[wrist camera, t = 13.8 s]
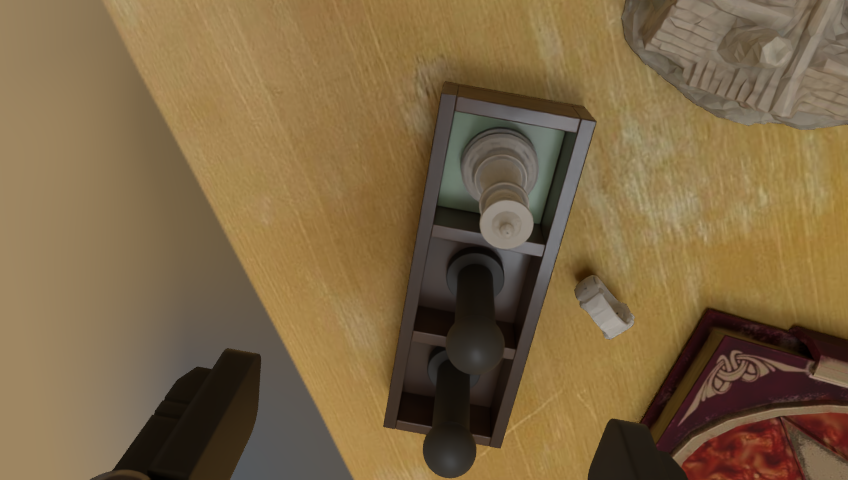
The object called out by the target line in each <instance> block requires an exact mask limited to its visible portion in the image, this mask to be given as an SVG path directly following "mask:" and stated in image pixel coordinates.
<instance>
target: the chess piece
mask: <svg viewBox="0 0 848 480" xmlns="http://www.w3.org/2000/svg"><path fill="white" fill-rule="evenodd" d="M538 173H539V165H538V157H537V153H536V151H535V149H534V146H533V144H532V143H531V142H530V141H529V139H528V138H527V137H526V136H524V135H523V134H522V133H520V132H519V131H517V130H514V129H511V128H507V127H494V128H489V129H486V130H484V131H482V132H480V133H478V134H477V135H476V136H474V137H473V138H472V139H471V140H470V141H469V143H468V144H467V146H466V147H465V149H464V152H463V154H462V158H461V175H462V180H463V184H464V186H465V188H466V190H467V191H468V193H469V194H470V195H471V196H472V197H473V198H474V199H475V200H477V201H478V202H479V210H480V214H481V217H480V223H479V225H480V231H481V233H482V235H483V237H484V239H485V240H486V241H487V242H488V243H489V244H491V245H493V246H494V247H497V248H501V249H511V248H515V247H517V246H520V245H521V244H523V243H524V242H525V241H526V240H527V239H528V238H529V237H530V235H531V233H532V230H533V224H534V222H533V216H532V214H531V211H530V210H529V206H530V205H529V198H528V195H529V193H530V192H531V191H532V190H533V188H534V186H535V184H536V182H537V180H538Z"/></svg>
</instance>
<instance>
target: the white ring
mask: <svg viewBox="0 0 848 480" xmlns="http://www.w3.org/2000/svg"><path fill="white" fill-rule="evenodd" d="M574 291H575V295H576V298H577V300H579V301H580V307H581V308H583V309H584V310H585V311H587V312H588V313H589V314H590V316H591V317H592V319H593V320H594V322H595V323H596V324H597V325H598V326H599V327H600V328H601V330H602V332H603V334H604V337H605V338H606V339H612V338H614V337H616V336H617V335H619V334H620V333H622V332H624V331H625V330H627V329H629V328H630V327H632V326H633V324H634V320H633V319H634V318H635V317H634V315H633V314H632V313H630V310H629V308H628V306H627V305H626V304H625V303H621V302H619V301H617V299H615V297H614V296H613V295H612V294H611V293H610V291H609V290H608V289H607V288H606V286H605V285H604V284H603V282H602V281H601V280H600V279H599V278H598V276H597V275H596V276H595V275H591V276H589V277H587V278H585V279H583V280H582V281H581V282H580V283H578V284H577V285H576V288H575V290H574Z"/></svg>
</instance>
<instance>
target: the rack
mask: <svg viewBox="0 0 848 480" xmlns="http://www.w3.org/2000/svg"><path fill="white" fill-rule="evenodd" d="M595 125H596V120H595V119H594V118H593V117H592V115H591V114H590V113H589V112H588V111H587V109H586V108H585V107H583V106H577V105H572V104H566V103H561V102H555V101H550V100H544V99H539V98H533V97H528V96H522V95H517V94H511V93H506V92H500V91H495V90H490V89H484V88H479V87H473V86H468V85H462V84H457V83H451V82H445V83H444V86H443V89H442V93H441V98H440V104H439V110H438V115H437V121H436V127H435V132H434V138H433V144H432V150H431V155H430V161H429V167H428V173H427V178H426V184H425V190H424V196H423V201H422V207H421V213H420V219H419V224H418V230H417V236H416V241H415V247H414V253H413V259H412V264H411V270H410V276H409V282H408V287H407V293H406V299H405V305H404V310H403V316H402V322H401V328H400V333H399V339H398V345H397V350H396V356H395V362H394V368H393V373H392V379H391V385H390V391H389V396H388V402H387V408H386V414H385V419H384V425H383V427H386V428H392V429H399V430H404V431H409V432H415V433H420V434H426V435H427V434H428V432H429V431H430V430H431V429H432V422H433V412H434V402H435V391H436V386H435V385H434V384H433V383H432V382H431V380H430V379H429V376H428V373H427V367H428V359H429V356H430V354H431V352H432V351H433V350H434V349H435V348H436V347H437V346H441V347H446V337H447V334H448V332H449V330H450V328H451V327H452V325H453V324H454V323H455V309H456V297H455V296H454V295H453V294H452V293H451V292H450V290H449V288H448V286H447V282H446V274H447V266H448V263H449V261H450V259H451V258H452V257H453V256H454V255H455V254H456V253H457V252H458V251H460V250H462V249H465V248H468V247H482V248H486V249H488V250H490V251H492V252H493V253H495V254H496V255H497V256H498V257H499V259H500V260H501V262H502V264H503V268H504V285H503V288H502V290H501V291H500V293H499V294H498V295H497V296H496V297H495V298H494V304H495V322H496V325H497V326H498V327H499V328H500V330H501V332H502V334H503V337H504V342H505V349H504V354H503V357H502V359H501V361H500V362H499V364H498V365H497V366H496V367H495V368H494V369H493V370H491V371H489V372H487V373H484V374H480V378H479V380H478V382H477V383H476V384H475V385H474V386H473V387H472V388H471V389H470V427H469V431H470V432H471V434H472V436H473V437H474V440H475V443H476V444H479V445H485V446H490V447H495V448H501V446H502V442H503V439H504V435H505V432H506V428H507V425H508V422H509V418H510V415H511V411H512V408H513V405H514V401H515V398H516V394H517V391H518V388H519V384H520V381H521V377H522V374H523V371H524V367H525V364H526V360H527V357H528V354H529V350H530V347H531V343H532V340H533V336H534V333H535V330H536V326H537V323H538V319H539V316H540V313H541V309H542V306H543V302H544V299H545V296H546V292H547V289H548V285H549V282H550V279H551V275H552V272H553V268H554V265H555V262H556V258H557V255H558V251H559V248H560V244H561V241H562V238H563V234H564V231H565V227H566V224H567V221H568V217H569V214H570V210H571V207H572V204H573V200H574V197H575V193H576V190H577V187H578V183H579V180H580V176H581V173H582V170H583V166H584V163H585V159H586V156H587V152H588V149H589V146H590V142H591V139H592V135H593V132H594V129H595ZM494 127H507V128H511V129H514V130H517V131H519V132H520V133H522V134H523V135H524V136H526V137H527V138H528V139H529V141H530V142H531V143H532V144H533V146H534V149H535V151H536V153H537V157H538V165H539V173H538V180H537V182H536V184H535V186H534V188H533V190H532V191H531V192H530V193H529V195H528V198H529V205H530V206H529V210H530V211H531V214H532V216H533V222H534V224H533V230H532V233H531V235H530V237H529V238H528V239H527V240H526V241H525V242H524V243H523V244H521V245H520V246H517V247H515V248H511V249H501V248H497V247H494V246H493V245H491V244H489V243H488V242H487V241H486V240H485V239H484V237H483V235H482V233H481V231H480V225H479V223H480V217H481V214H480V210H479V202H478V201H477V200H475V199H474V198H473V197H472V196H471V195H470V194H469V193H468V191H467V190H466V188H465V186H464V184H463V180H462V175H461V158H462V154H463V152H464V149H465V147H466V146H467V144H468V143H469V141H470V140H471V139H472V138H473V137H474V136H476V135H477V134H478V133H480V132H482V131H484V130H486V129H489V128H494Z"/></svg>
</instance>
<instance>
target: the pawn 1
mask: <svg viewBox="0 0 848 480" xmlns="http://www.w3.org/2000/svg"><path fill="white" fill-rule="evenodd" d="M446 282H447V286H448V288H449V290H450V292H451V293H452V294H453V295H454V296H455V297H456V309H455V323H454V324H453V325H452V327H451V328H450V330H449V332H448V334H447V337H446V352H447V355H448V357H449V359H450V361H451V363H452V364H453V365H454V366H455V367H456V368H457V369H459V370H460V371H462V372H464V373H467V374H471V375H480V374H484V373H487V372H489V371H491V370H493V369H494V368H495V367H496V366H497V365H498V364H499V362H500V361H501V359H502V357H503V354H504V349H505V342H504V337H503V334H502V332H501V330H500V328H499V327H498V326H497V325H496V322H495V304H494V298H495V297H496V296H497V295H498V294H499V293H500V291H501V290H502V288H503V285H504V268H503V264H502V262H501V260H500V259H499V257H498V256H497V255H496V254H495V253H493V252H492V251H490V250H488V249H486V248H482V247H468V248H465V249H462V250H460V251H458V252H457V253H456V254H455V255H454V256H453V257H452V258H451V259H450V261H449V263H448V266H447V274H446Z"/></svg>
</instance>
